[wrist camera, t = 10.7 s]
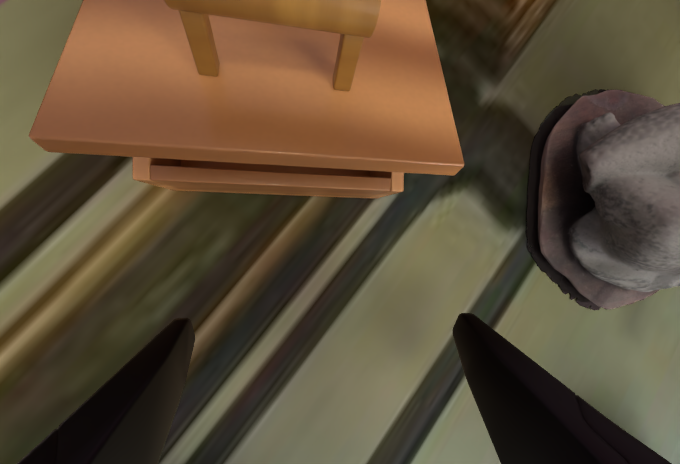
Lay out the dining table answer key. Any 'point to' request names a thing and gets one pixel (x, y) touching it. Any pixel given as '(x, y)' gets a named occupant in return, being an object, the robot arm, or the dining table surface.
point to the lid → (254, 85)
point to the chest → (265, 178)
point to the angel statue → (607, 197)
